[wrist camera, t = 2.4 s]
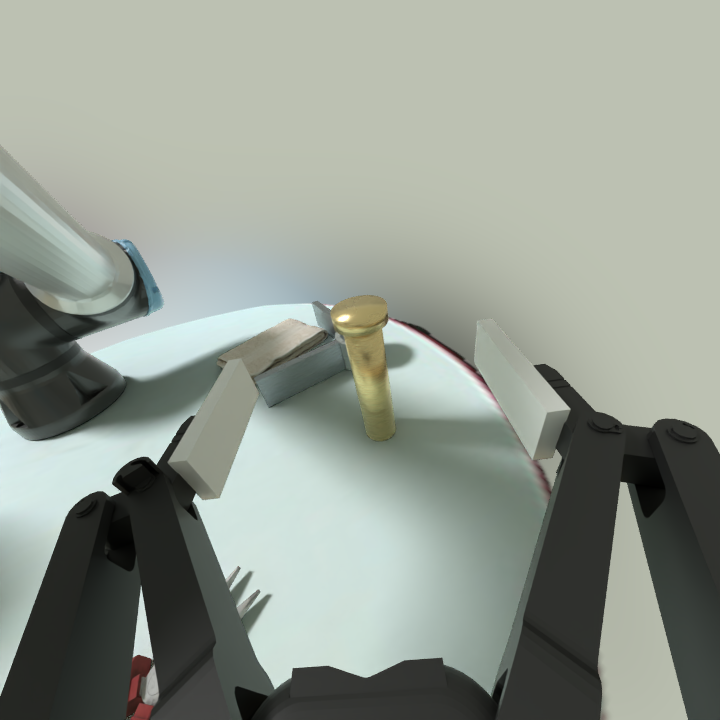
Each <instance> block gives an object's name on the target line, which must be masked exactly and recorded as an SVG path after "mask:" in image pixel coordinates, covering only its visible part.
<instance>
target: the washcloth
mask: <svg viewBox="0 0 720 720" xmlns="http://www.w3.org/2000/svg"><path fill="white" fill-rule="evenodd" d="M327 336H328V331H327V330H325V329H323V328H319V327H315V326H309V325H306V324H305V323H302V322H300V321H298V320H294V319H287V320H285V321H283V322H281V323H279V324H278V325H276V326H275V327H272V328H269V329H268V330H266V331H264V332H262V333H260V334H258V335H257V336H255V337H253V338H251V339H249V340H248V341H246V342H244V343H243V344H241V345H239V346H237V347H235V348H233V349H231V350H229V351H227V352H226V353H224V354H222V355H220V356H219V357H218V358H217V359H218V361H217V363H216V364H217V365H218V366H220V367H222V368H224V367H225V365H226V363H227V362H228V360H233V359H240V358H241V359H242V361H243V363H244V365H245V367H246V369H247V371H248V373H249V375H250V376H251V378H252V380H253V382H254V384H255V385H256V384H257V383H256V381H255V379H254V377H255V376H257V375H260V374H262V373H264V372H266V371H268V370H271V369H273V368H275V367H277V366H279V365H281V364H284V363H286V362H288V361H290V360H292V359H294V358H297V357H299V356H301V355H303V354H305V353H306V352H308V351H309V350H311V349H312V348H314V347H315V346H317V345H318V344H320V343H321V342H323V341H324V340H325V339H326V338H327Z"/></svg>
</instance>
